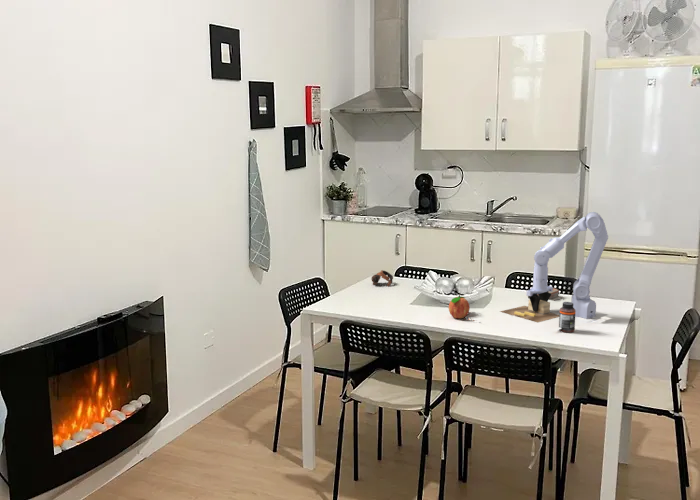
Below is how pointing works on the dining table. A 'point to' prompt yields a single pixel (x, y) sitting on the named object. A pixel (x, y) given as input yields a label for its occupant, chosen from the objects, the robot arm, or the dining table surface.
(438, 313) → the dining table surface
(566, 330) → the supplement bottle
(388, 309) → the dining table surface
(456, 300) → the fruit
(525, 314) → the crayon bit
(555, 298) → the packaged product
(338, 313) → the dining table surface
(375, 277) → the brown arch piece
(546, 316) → the walnut board
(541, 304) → the block
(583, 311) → the robot arm
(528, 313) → the crayon bit
